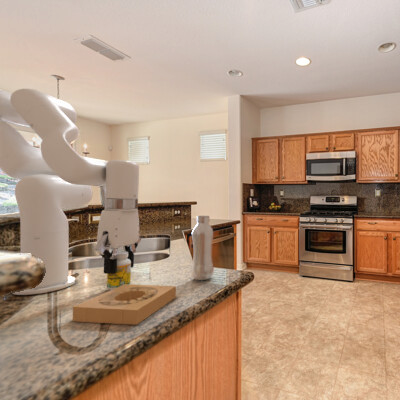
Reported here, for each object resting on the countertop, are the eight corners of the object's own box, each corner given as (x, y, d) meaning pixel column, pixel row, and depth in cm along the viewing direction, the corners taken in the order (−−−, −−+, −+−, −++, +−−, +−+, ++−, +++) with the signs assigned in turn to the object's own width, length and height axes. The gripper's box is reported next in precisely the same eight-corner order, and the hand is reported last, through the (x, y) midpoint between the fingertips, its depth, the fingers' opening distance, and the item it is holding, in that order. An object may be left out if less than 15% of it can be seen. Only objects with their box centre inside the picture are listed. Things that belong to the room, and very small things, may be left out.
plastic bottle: (206, 283, 76) (207, 217, 76) (186, 281, 78) (187, 216, 77) (217, 276, 83) (218, 215, 82) (199, 275, 84) (199, 215, 84)
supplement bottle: (133, 283, 74) (134, 250, 74) (125, 290, 68) (126, 254, 68) (112, 283, 72) (113, 250, 72) (102, 290, 67) (103, 254, 67)
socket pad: (72, 321, 52) (72, 306, 52) (124, 295, 66) (124, 284, 66) (136, 324, 51) (136, 310, 51) (175, 297, 65) (175, 286, 65)
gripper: (131, 203, 79) (129, 261, 79) (80, 205, 62) (77, 279, 62) (154, 205, 79) (152, 263, 79) (108, 206, 61) (105, 281, 62)
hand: (119, 269), depth 70 cm, fingers closed on supplement bottle, 5 cm apart
